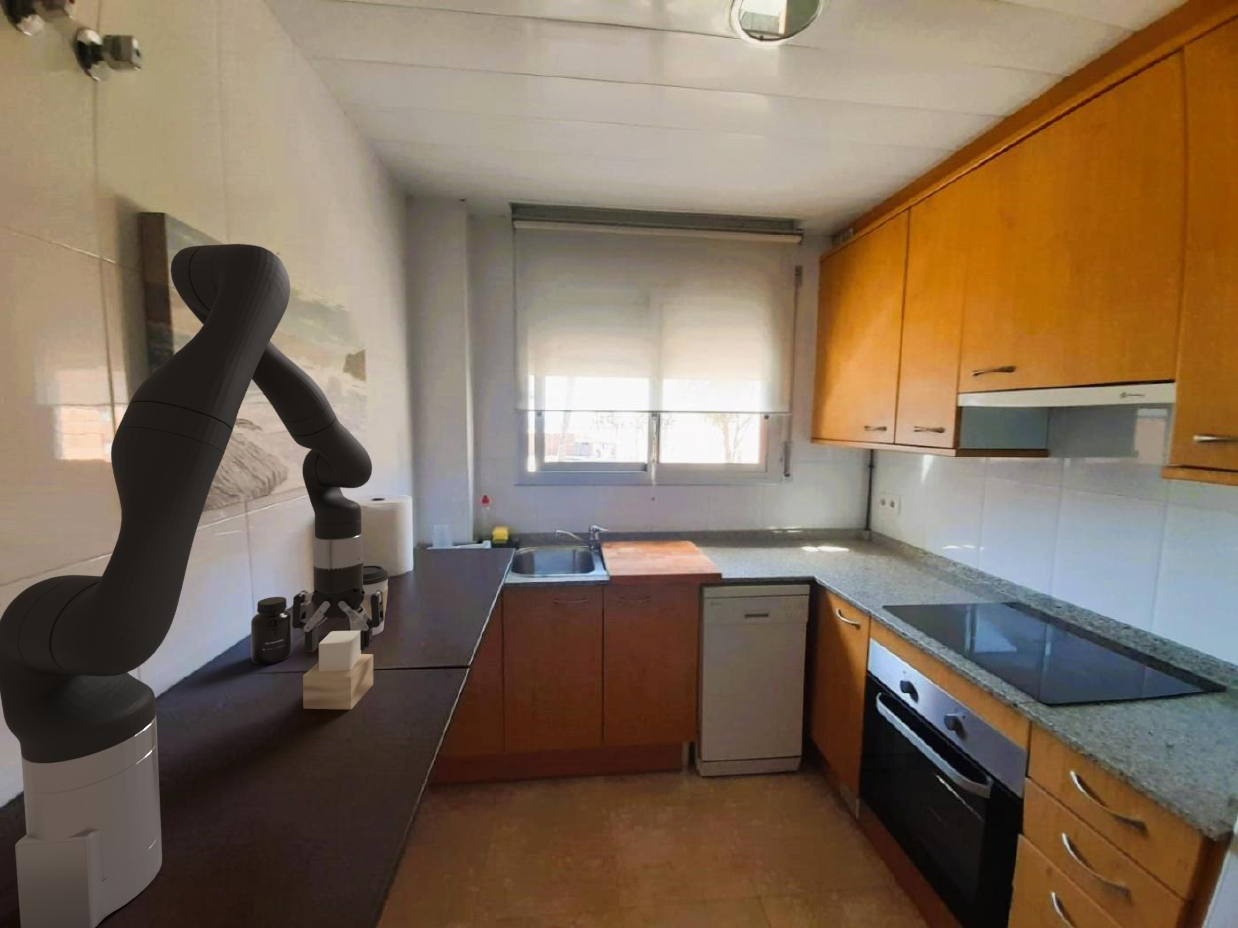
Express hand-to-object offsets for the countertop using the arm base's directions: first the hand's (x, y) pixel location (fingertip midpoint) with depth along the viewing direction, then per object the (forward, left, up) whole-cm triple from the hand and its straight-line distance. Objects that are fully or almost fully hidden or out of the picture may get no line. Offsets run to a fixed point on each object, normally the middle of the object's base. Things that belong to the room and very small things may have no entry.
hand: (339, 649), depth 85 cm
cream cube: (0, 0, -3) cm, 3 cm away
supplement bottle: (+15, +19, -9) cm, 26 cm away
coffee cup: (+27, +5, -9) cm, 29 cm away
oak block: (0, 0, -9) cm, 9 cm away
